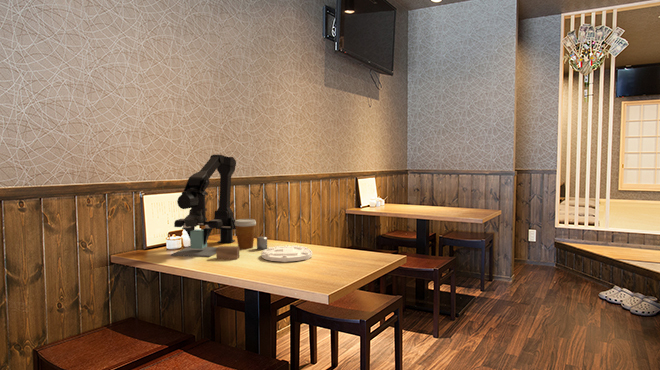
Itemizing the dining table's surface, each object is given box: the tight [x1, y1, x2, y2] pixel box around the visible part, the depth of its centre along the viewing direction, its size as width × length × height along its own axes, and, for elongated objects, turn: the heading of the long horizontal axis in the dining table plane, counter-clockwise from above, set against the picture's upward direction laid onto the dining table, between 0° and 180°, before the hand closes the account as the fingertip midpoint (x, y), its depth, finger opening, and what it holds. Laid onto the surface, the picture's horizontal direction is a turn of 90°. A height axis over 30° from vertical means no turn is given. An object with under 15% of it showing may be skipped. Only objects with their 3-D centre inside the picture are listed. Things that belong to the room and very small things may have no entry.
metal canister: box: [256, 236, 268, 251], centre depth 184 cm, size 4×4×5 cm
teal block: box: [189, 228, 208, 249], centre depth 177 cm, size 5×5×7 cm
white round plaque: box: [261, 245, 313, 263], centre depth 169 cm, size 20×20×3 cm
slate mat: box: [170, 245, 218, 258], centre depth 177 cm, size 16×16×1 cm
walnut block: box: [215, 245, 240, 260], centre depth 166 cm, size 4×8×4 cm, turn 88°
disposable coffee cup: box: [234, 218, 257, 250], centre depth 187 cm, size 10×10×12 cm
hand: (198, 244), depth 177 cm, fingers closed on teal block, 5 cm apart
